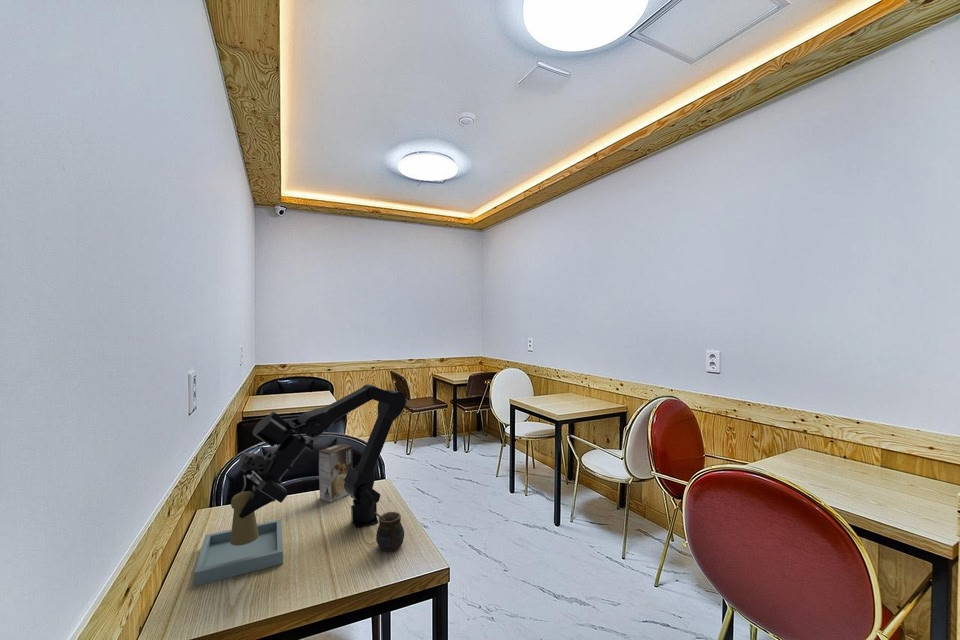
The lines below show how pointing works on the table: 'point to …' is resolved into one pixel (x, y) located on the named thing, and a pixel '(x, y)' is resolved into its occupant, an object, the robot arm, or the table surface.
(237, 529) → the cork
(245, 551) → the slate tray
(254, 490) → the robot arm
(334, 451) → the coffee box
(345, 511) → the table surface
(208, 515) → the table surface
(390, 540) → the mate gourd
